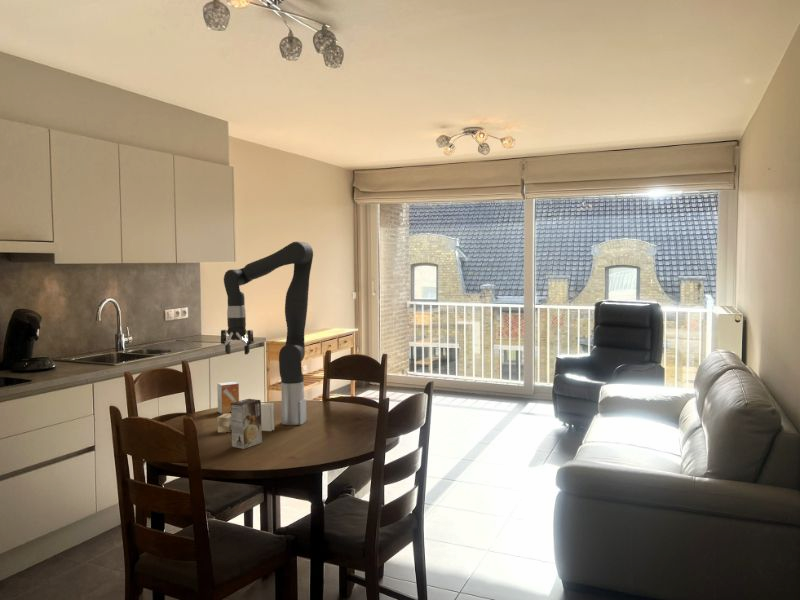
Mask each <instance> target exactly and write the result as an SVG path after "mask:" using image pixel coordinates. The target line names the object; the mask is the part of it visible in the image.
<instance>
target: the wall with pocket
mask: <svg viewBox="0 0 800 600" xmlns="http://www.w3.org/2000/svg"><path fill="white" fill-rule="evenodd" d="M261 427H262V432H272V430H273V431H275V403H274V402H261Z"/></svg>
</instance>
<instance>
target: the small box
mask: <svg viewBox="0 0 800 600" xmlns="http://www.w3.org/2000/svg"><path fill="white" fill-rule="evenodd" d="M216 389H217V412H218V413H219V414H221V415H223V414H225V413H230V412H231V403H233V402H237V401H240V386H239V383H238V382H236V381H230V382H229V381H228V382H226V381H225V382H219V383H217V388H216ZM230 414H231V413H230Z"/></svg>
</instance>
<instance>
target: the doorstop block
mask: <svg viewBox="0 0 800 600" xmlns="http://www.w3.org/2000/svg"><path fill="white" fill-rule="evenodd" d="M231 430H232V427H231V413H224V414H221V415H219V416H217V433H226V432H229V431H230V432H232V431H231ZM230 432H229V433H230Z"/></svg>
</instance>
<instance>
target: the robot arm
mask: <svg viewBox="0 0 800 600" xmlns="http://www.w3.org/2000/svg"><path fill="white" fill-rule="evenodd" d="M313 258H314V251H313V248H312V246H311V244H309V243H308V242H304V241H292V242H290V243H289V244H288V245H285V246H284V247H282V248H281V249H279V250H278V251H276V252H275V251H274V252H273V253H271V254H269V255H267V256H265V257H263V258H259V259H257V260H255V261H251V262H250V263H247V264H246V265H245V266H244V267H242V268H238V269H228V270H226V271H225V273H224V276H223V285H224V288H225V292H226V296H227V311H226V316H227V329H220V344H222V345H224V347H225V349H224V350H225V354H226V355H230V354H231V343H232V342H233V341H241V342H242V343H243V345H244V347H243V348H244V355H249V354H250V345H253V344H254V331H253V329H246V328H247V327H246V326H247V325H246V324H247V323H246V320H247V318H246V307H245V302H246V301H245V293H244V292H242V291H241V288H240V287H241V286H244V285H246V284H248V283H251V282H252V281H253V280H256V279H259V278H261V277H264V276H267V275H268V274H270V273H272V272H273V271H275V270H276V269H279V268H280V267H283V266H288V265H293V275H292V278H291V281H290V283H289V286H288V288H287V290H286V293H285V302H284V303H285V304H284V316H285V321H286V323H285V324H286V328H287V329H286V330H287V332H286V339H285V340H286V341H285V345H283V346H281V348H280V350H279V353H278V366H279V368H278V369H279V377H280V382H281V383H280V387H281V390H280V391H281V392H280V393H281V422H282V423H281V424H282V425H285V426H297V425H298V426H299V425H303V424H304V423H306V422H307V399H306V398H305V387H304V385H305V379H304V378H305V377H304V374H303V370H302V369H303V367H302V361H303V360H304V358H305V354H306V351H305V348H306V347H305V346H306V345H305V328H306V322H307V313H308V305H309V288H310V275H311V271H312V270H311V269H312V264H313ZM227 335H228V337H227ZM246 335H247V336H246Z"/></svg>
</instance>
